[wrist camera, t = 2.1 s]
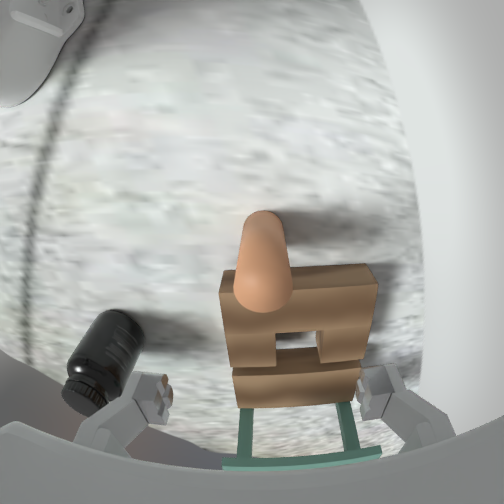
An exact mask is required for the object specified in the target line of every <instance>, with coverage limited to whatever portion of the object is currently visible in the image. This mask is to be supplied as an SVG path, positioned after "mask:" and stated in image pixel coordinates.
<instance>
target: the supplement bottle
mask: <svg viewBox="0 0 504 504" xmlns="http://www.w3.org/2000/svg"><path fill="white" fill-rule="evenodd" d="M143 345H144V335H143V333H142V330H141V329H140V327H139V326H138V324H137V323H136V322H135V321H134V320H133V319H131V318H130V317H128V316H127V315H125V314H123V313H120V312H117V311H105V312H103V313H101V314H99V315H98V316H97V318H96V319H95V320H94V322H93V323H92V325H91V326H90V328H89V329H88V331H87V332H86V334H85V335H84V337H83V338H82V340H81V341H80V343H79V344H78V346H77V347H76V349H75V350H74V352H73V354H72V355H71V357H70V358H69V360H68V363H67V372H68V375H69V378H68V379H67V381H66V384H65V386H64V388H63V389H62V392H61V394H62V397H63V399H64V401H65V402H66V403H67V404H68V405H69V406H70V407H72V408H73V409H74V410H75V411H77V412H79V413H80V414H82V415H84V416H87V417H90V416H92V415H93V414H95V413H96V412H97V411H99V410H100V409H102V408H103V407H105V406H106V405H107V404H109V402H112V401H113V400H115V399H116V398H117V397H121V396H122V393H123V391H124V389H125V386H126V384H127V382H128V380H129V377H130V375H131V373H132V371H133V369H134V366H135V364H136V362H137V359H138V357H139V355H140V353H141V350H142V348H143Z"/></svg>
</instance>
